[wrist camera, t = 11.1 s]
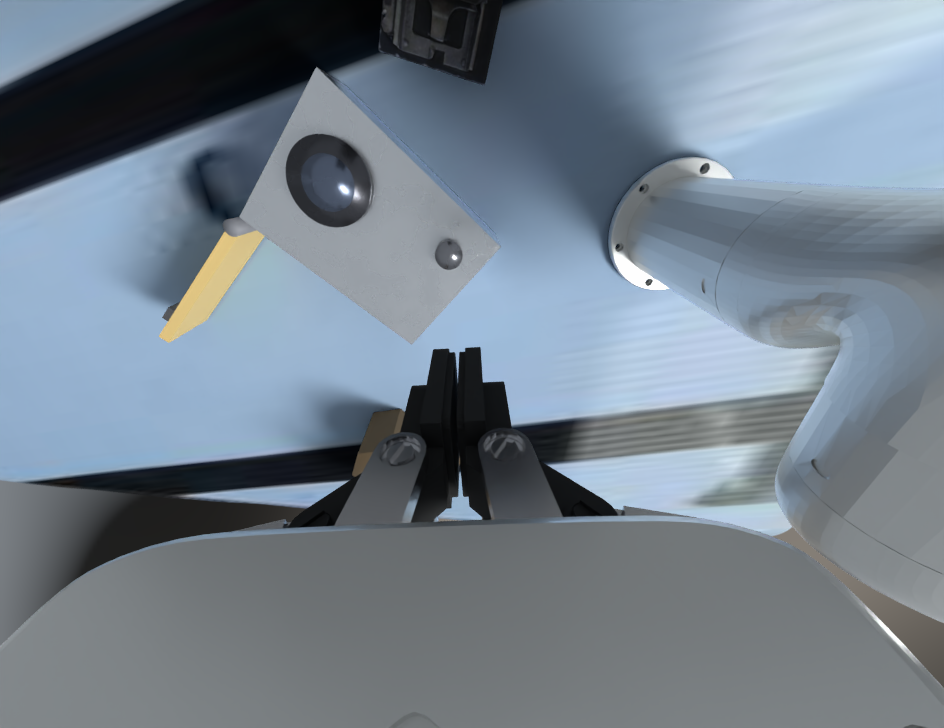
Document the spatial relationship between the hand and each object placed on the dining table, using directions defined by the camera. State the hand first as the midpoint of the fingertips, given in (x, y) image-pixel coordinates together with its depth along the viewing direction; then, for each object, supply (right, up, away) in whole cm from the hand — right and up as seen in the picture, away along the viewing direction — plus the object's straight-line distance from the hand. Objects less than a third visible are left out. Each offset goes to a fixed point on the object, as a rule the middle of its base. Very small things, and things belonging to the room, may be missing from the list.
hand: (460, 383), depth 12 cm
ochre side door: (-26, +11, +24) cm, 37 cm away
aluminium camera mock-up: (-8, +15, +22) cm, 28 cm away
